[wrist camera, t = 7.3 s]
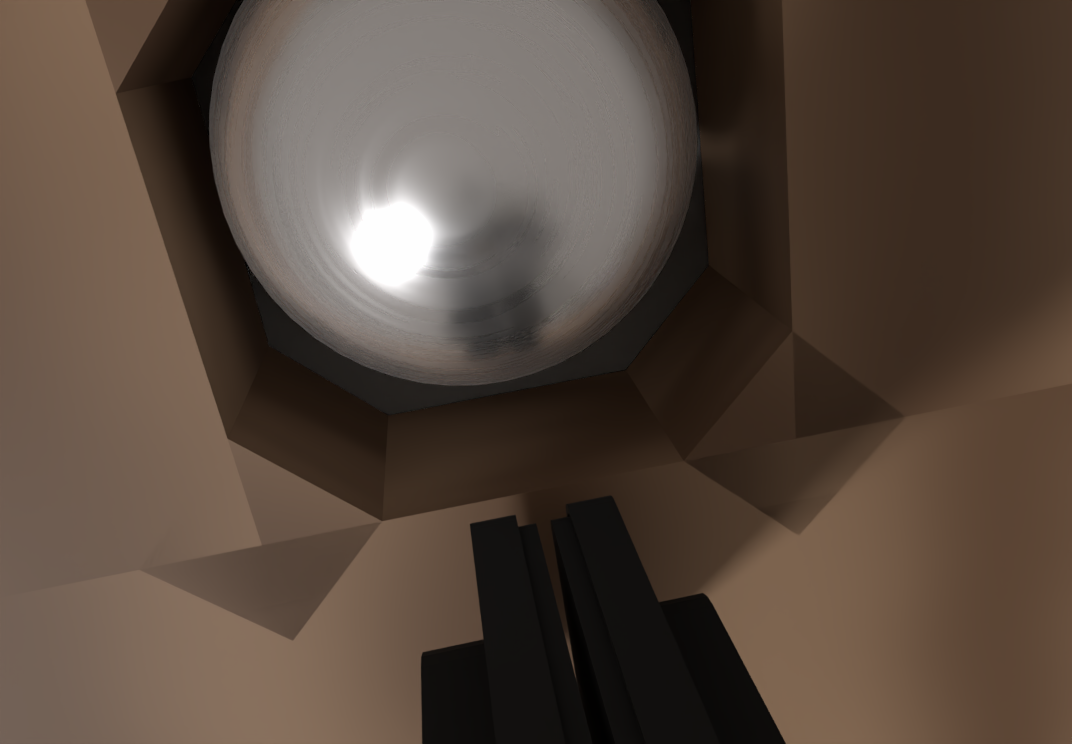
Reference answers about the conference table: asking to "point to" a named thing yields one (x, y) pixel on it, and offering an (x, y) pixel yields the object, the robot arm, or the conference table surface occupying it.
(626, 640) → the robot arm
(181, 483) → the deck
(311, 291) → the ball
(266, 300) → the conference table surface
